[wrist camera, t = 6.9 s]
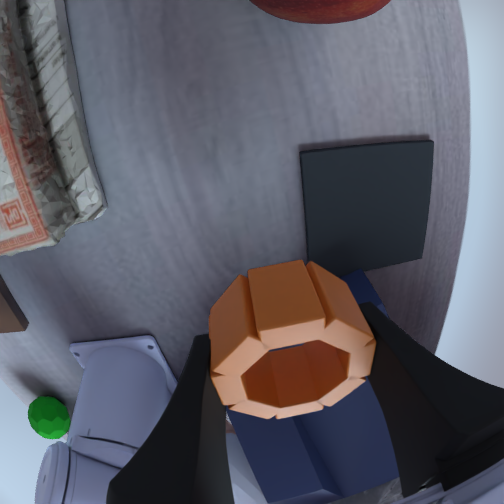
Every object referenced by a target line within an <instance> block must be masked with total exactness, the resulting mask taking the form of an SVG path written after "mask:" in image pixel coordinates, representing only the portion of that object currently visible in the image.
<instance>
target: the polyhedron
mask: <svg viewBox="0 0 504 504" xmlns="http://www.w3.org/2000/svg"><path fill="white" fill-rule="evenodd" d="M28 419H29V422H30V424H31V427H32V428H33V429H34V430H35V431H36V432H37V433H38V434H39V435H41V436H42V437H44V438H48V439H59V438H60V437H62V436H63V435H64V434H66V432H67V431H68V430H69V427H70V423H71V421H70V417H69V414H68V410H67V408H66V407H65V406H64V405H63V404H62V403H61V402H60V401H59V400H57V399H56V398H55V397H48V396H39V397H38V398H37V399H35V400H34V401H33V402H32V403H31V404H30V405H29V410H28Z"/></svg>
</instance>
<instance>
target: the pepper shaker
mask: <svg viewBox="0 0 504 504" xmlns="http://www.w3.org/2000/svg"><path fill="white" fill-rule="evenodd" d="M226 447H227V455H228V463H229V470H230V477H231V484H232V490H233V496H234V502H235V504H268V503H267V501H266V499H265V497H264V495H263V493H262V491H261V489H260V487H259V484H258V482H257V480H256V478H255V476H254V474H253V472H252V469H251V467H250V465H249V463H248V460H247V458H246V456H245V454H244V451H243V449H242V447H241V444H240V442H239V440H238V437H237V435H236V433H235V430H234V428H233V426H232V424H230V423H229V422H228V421H227V420H226Z"/></svg>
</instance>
